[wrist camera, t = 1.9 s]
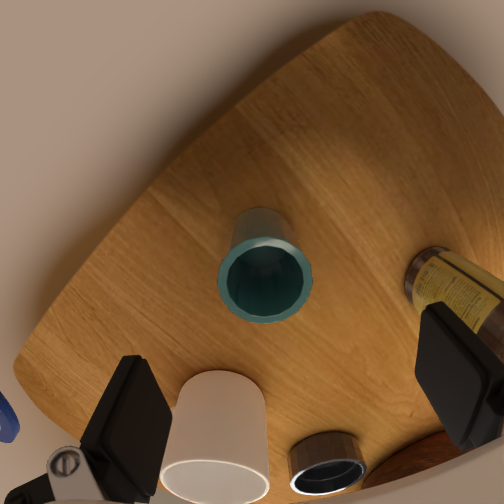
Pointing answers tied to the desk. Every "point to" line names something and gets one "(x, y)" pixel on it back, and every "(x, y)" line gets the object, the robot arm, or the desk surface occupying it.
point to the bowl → (326, 463)
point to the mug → (217, 441)
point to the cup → (263, 268)
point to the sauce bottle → (459, 293)
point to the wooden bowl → (415, 459)
